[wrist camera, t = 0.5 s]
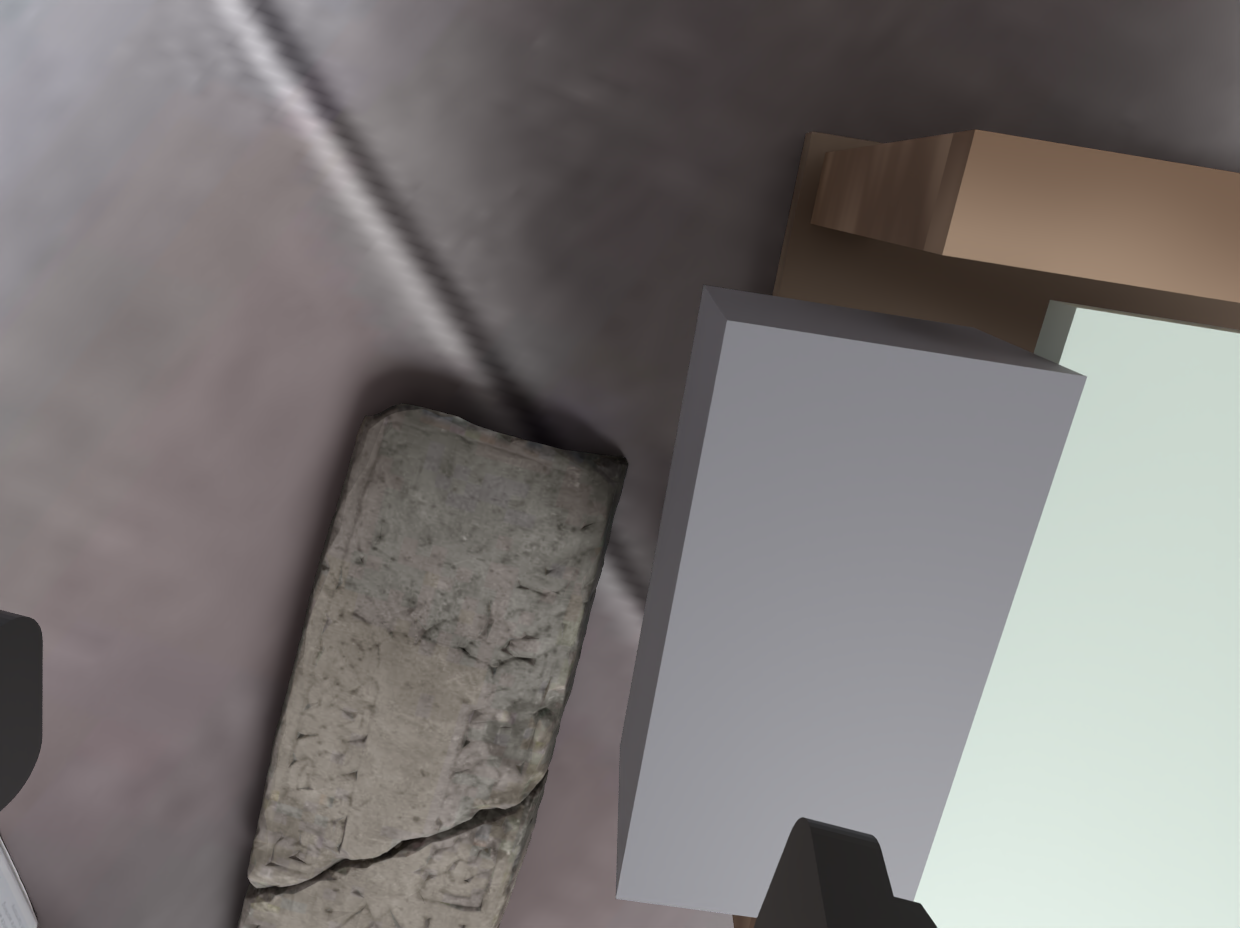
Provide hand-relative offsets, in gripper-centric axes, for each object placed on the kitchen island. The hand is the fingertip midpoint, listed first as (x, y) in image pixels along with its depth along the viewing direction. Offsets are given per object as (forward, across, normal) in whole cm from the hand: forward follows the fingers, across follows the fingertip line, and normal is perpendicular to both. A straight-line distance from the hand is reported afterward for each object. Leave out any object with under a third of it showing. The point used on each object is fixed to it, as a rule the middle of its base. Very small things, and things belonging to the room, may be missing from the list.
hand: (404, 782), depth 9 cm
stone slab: (+20, +4, +18) cm, 27 cm away
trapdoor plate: (+12, -13, +1) cm, 18 cm away
